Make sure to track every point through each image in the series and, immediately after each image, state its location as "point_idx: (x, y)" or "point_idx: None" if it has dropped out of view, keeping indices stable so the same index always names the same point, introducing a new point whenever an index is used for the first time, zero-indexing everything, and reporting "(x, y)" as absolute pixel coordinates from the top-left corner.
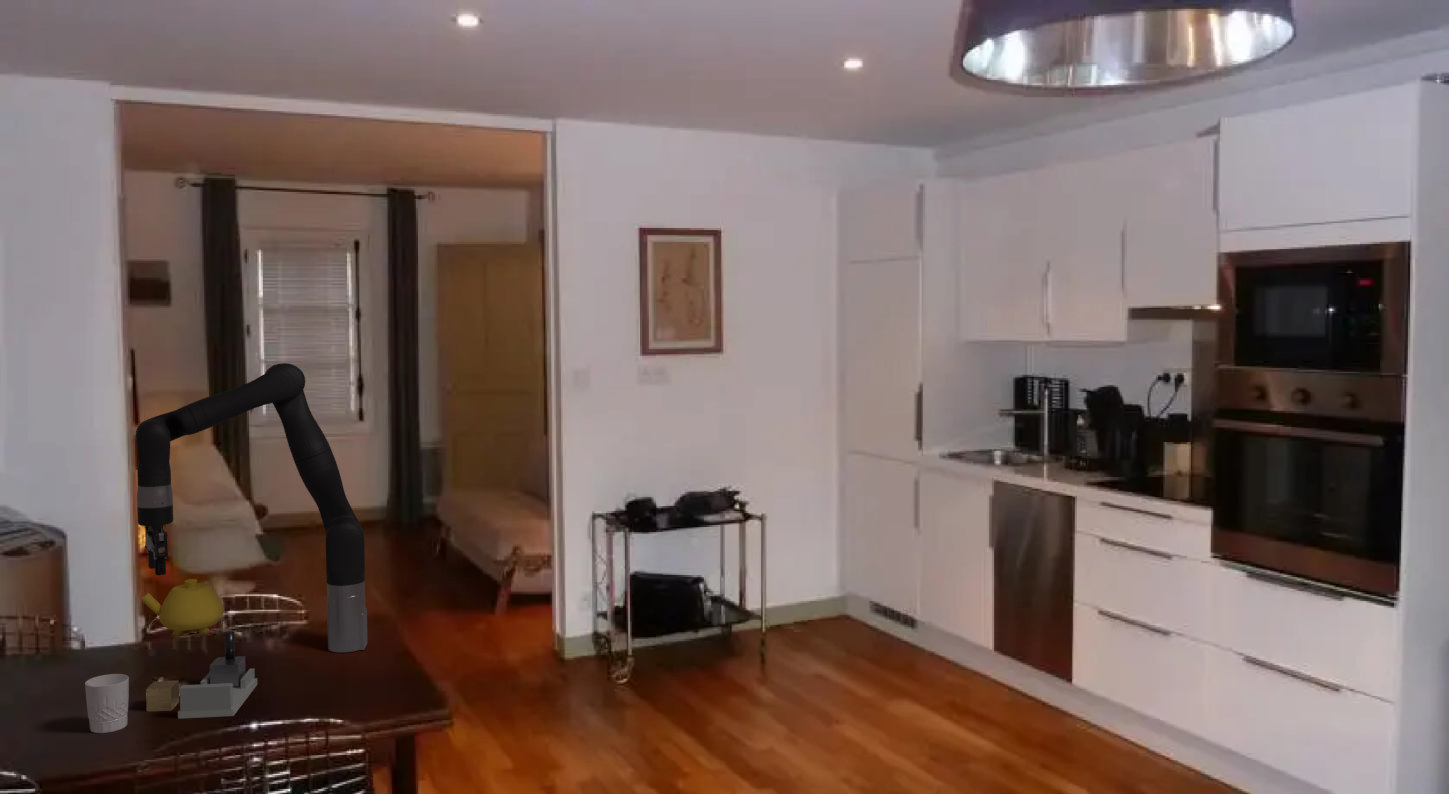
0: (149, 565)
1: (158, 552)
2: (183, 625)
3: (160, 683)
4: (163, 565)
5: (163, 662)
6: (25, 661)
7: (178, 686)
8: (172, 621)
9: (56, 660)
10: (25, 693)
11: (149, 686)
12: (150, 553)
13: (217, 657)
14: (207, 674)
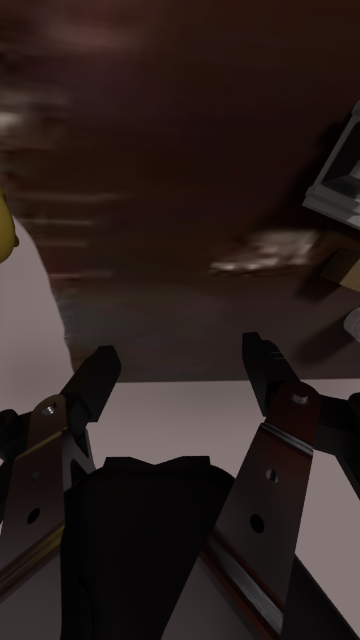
0: (117, 376)
1: (74, 393)
2: (13, 230)
3: (357, 276)
4: (287, 365)
5: (148, 261)
6: None
7: (358, 250)
8: (8, 248)
9: None
10: (199, 374)
11: (357, 290)
12: (93, 417)
13: (350, 174)
14: (332, 201)
